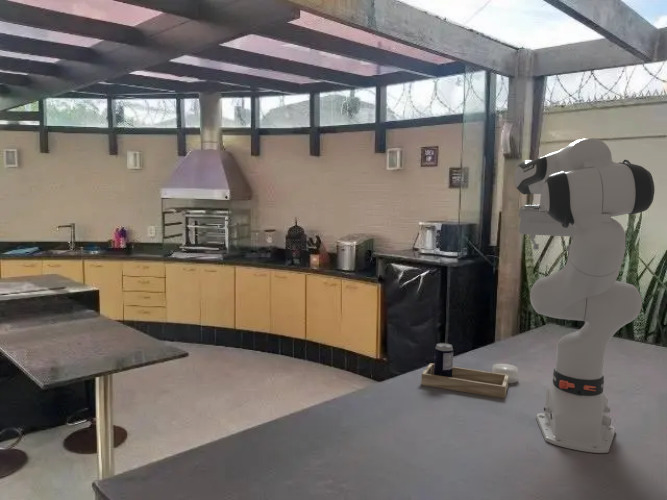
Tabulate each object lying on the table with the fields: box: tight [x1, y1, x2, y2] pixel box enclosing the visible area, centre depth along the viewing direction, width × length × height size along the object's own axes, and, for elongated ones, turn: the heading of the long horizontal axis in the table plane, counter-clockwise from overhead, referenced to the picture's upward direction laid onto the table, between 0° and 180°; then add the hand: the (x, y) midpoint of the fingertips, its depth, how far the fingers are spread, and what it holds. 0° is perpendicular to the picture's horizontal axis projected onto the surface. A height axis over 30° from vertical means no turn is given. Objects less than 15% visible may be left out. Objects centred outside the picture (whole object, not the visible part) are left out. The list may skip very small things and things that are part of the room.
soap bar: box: [492, 363, 519, 384], centre depth 171 cm, size 8×8×4 cm
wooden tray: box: [420, 362, 509, 399], centre depth 165 cm, size 12×25×4 cm, turn 67°
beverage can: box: [433, 342, 454, 378], centre depth 167 cm, size 6×6×12 cm
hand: (552, 250), depth 162 cm, fingers open, 8 cm apart
